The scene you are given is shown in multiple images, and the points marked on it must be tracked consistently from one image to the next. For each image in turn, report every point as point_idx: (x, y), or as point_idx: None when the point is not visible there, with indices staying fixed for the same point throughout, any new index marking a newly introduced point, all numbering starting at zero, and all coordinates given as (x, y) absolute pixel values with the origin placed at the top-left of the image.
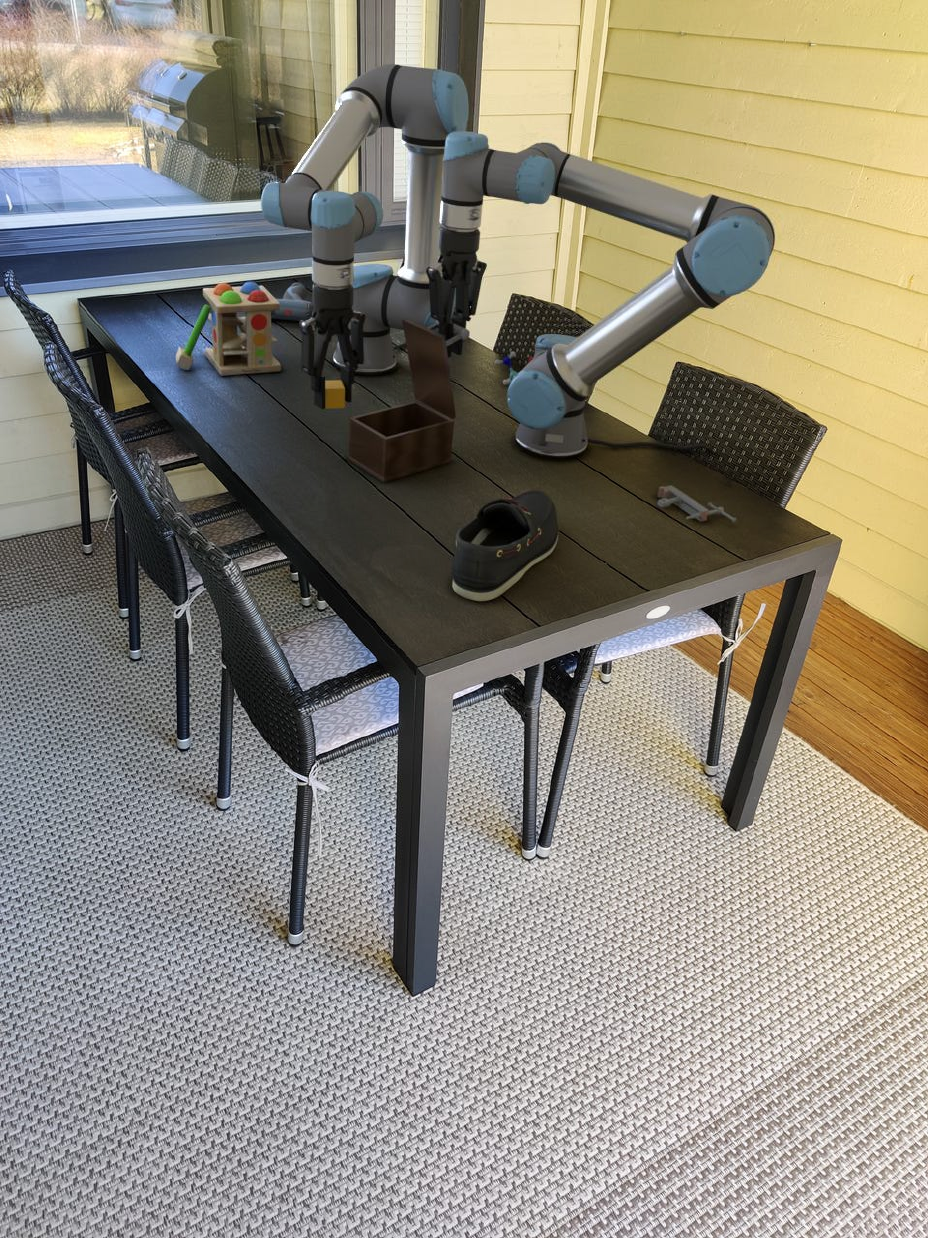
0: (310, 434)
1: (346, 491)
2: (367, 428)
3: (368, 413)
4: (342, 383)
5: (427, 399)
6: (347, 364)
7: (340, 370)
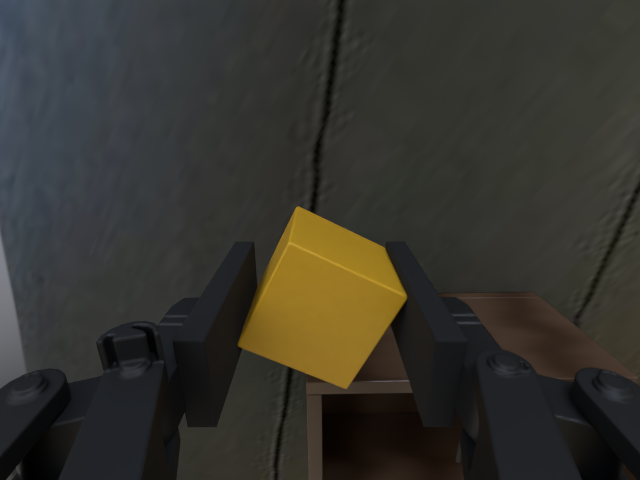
0: (313, 91)
1: None
2: (308, 465)
3: (393, 386)
4: (378, 336)
5: (629, 473)
6: (469, 409)
7: (426, 320)
